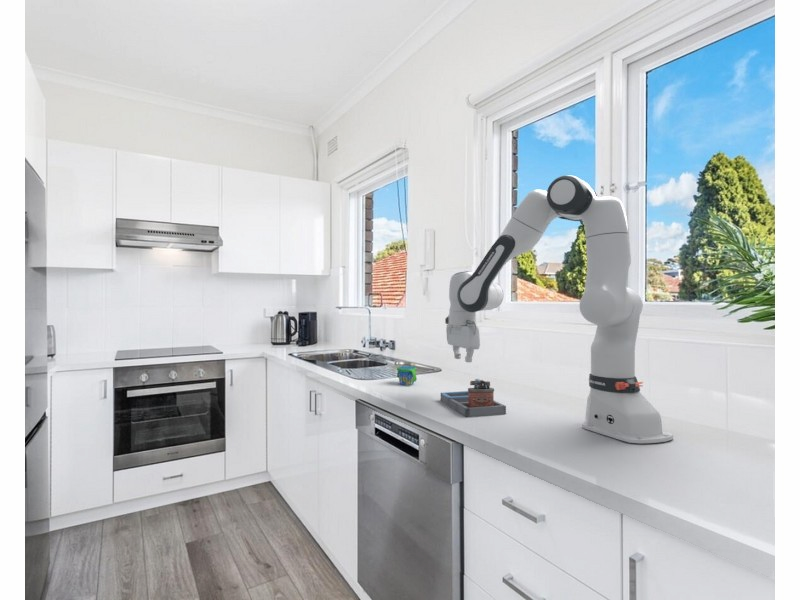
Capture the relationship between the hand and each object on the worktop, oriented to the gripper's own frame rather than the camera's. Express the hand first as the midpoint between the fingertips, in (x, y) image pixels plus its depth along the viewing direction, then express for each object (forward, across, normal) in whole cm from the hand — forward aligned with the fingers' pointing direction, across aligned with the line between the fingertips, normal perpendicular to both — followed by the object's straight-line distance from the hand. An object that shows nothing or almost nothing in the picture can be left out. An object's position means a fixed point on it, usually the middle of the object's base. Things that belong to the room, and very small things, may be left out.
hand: (462, 360), depth 153 cm
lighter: (+15, -14, 0) cm, 20 cm away
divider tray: (+14, -7, 0) cm, 16 cm away
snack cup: (+14, +34, +10) cm, 38 cm away
